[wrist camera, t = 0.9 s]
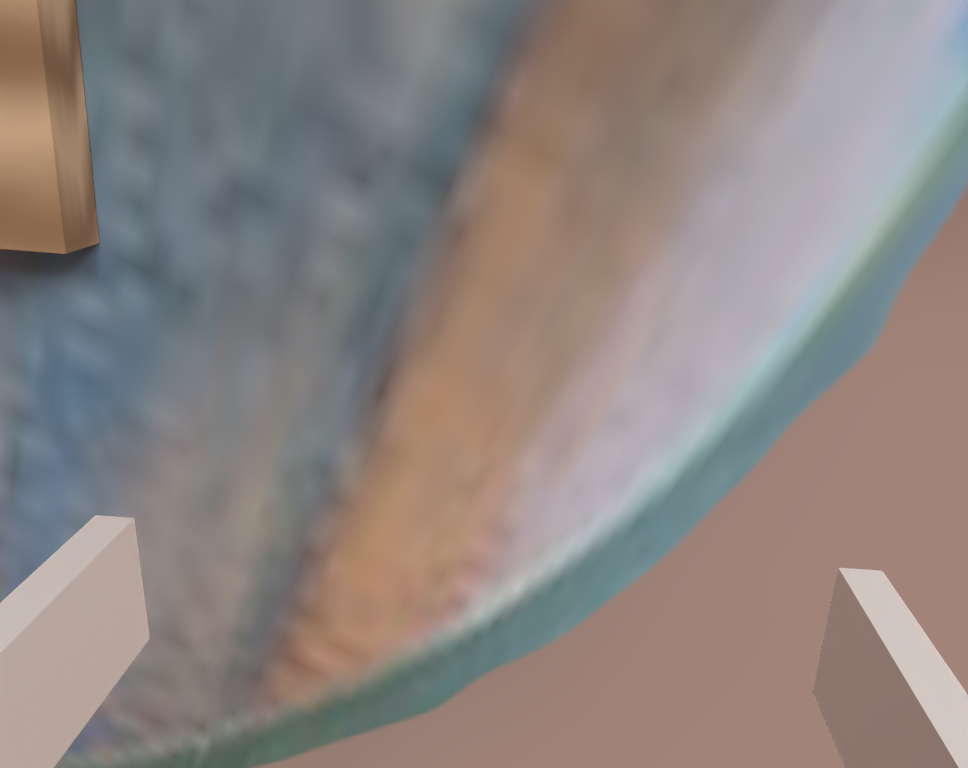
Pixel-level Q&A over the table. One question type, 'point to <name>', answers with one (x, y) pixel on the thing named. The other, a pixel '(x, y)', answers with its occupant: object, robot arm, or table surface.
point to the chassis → (43, 131)
